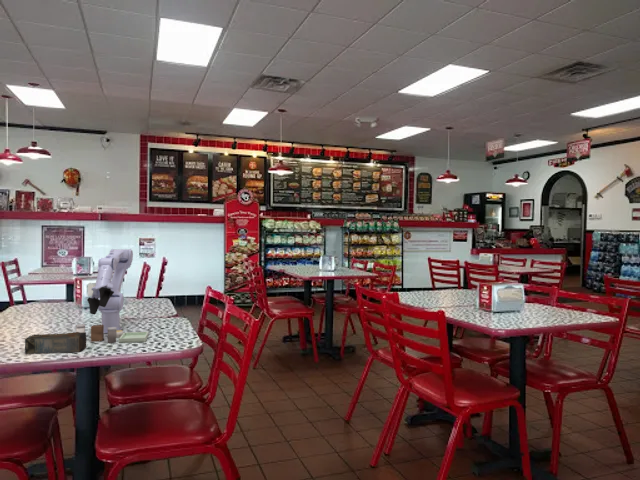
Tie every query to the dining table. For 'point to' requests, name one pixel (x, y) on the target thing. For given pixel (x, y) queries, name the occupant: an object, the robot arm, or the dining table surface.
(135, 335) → the basket tray
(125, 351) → the dining table surface
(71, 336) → the beverage carton
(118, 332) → the sauce cup
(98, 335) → the walnut block
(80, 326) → the salt shaker
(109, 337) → the pepper shaker
